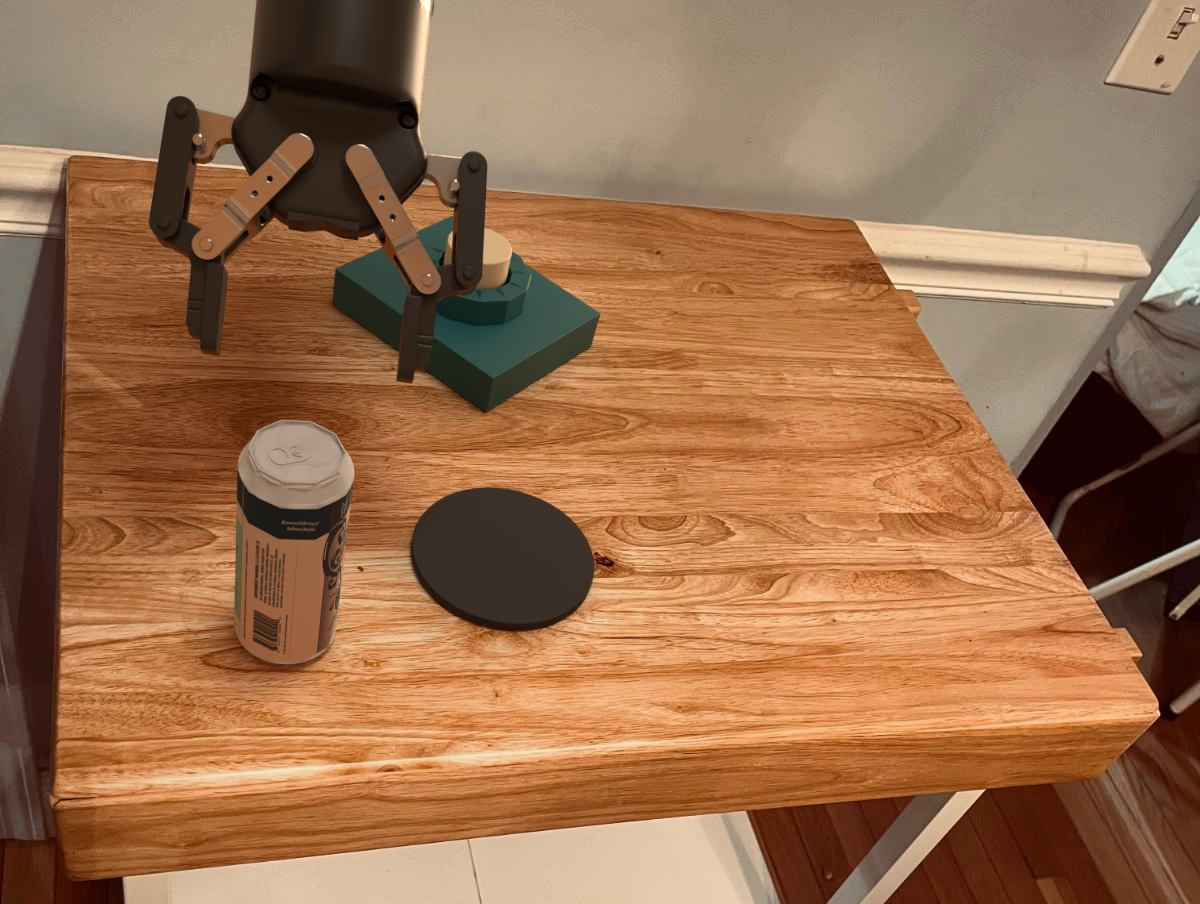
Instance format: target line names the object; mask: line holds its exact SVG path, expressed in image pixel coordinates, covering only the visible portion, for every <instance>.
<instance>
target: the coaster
mask: <svg viewBox="0 0 1200 904" xmlns="http://www.w3.org/2000/svg"><path fill="white" fill-rule="evenodd" d="M410 555H411V563H412V567H413V569H414V572H415V574H416V576H417V578H418V580H419V582H420V583H421V585H422V586H423V588H424V589H425V591H427V593H428V594H429V595H430V596H431V597H432V598H433V599H434V600H435V601H436V602H437V603H438V604H439V605H441V606H442V607H443V608H445V609H446V610H448V611H449V612H451V613H452V614H454V615H456V616H458V617H460V618H462V619H464V620H466V621H468V622H471V623H473V624H477V625H480V626H482V627H487V628H492V629H495V630H503V631H505V630H506V631H527V630H528V631H529V630H536V629H540V628H545V627H548V626H552V625H554V624H558V622H560V621H562V620H564V619H566V618H568V617H569V616H570V615H572V614H573V613H574V612H575V611H576V610H577V609H579V608H580V607H581V606H582V604H583V602H584V601H585V600H586V599H587V596H588V594H589V592H590V590H591V587H592V585H593V581H594V577H595V566H596V565H595V558H594V553H593V550H592V547H591V545H590V543H589V541H588V539H587V537H586V536H585V534H584V532H583V530H581V528H580V527H579V526H578V525H577V523H575V521H574V520H572V518H571V517H570V516H569V515H567V513H565V512H563V511H562V510H561V509H559V508H557V507H556V506H555V505H553V504H552V503H549V502H548V501H546V500H544V499H542V498H541V497H540V498H539V497H537V496H535V495H532V494H530V493H527V492H523V491H521V490H520V491H519V490H515V489H512V488H511V489H510V488H503V487H492V486H490V487H488V486H484V487H474V488H473V487H472V488H467V489H463V490H459V491H456V492H452V493H450V494H447V495H446V496H443V497H442V498H439V499H438V500H436V501H435V502H434V503H432V504H431V505H430V506H429V507H428V508H427V509H426V510H425V511H424V512H423V513H422V514H421V516H420V517H419V519H418V520H417V522H416V524H415V527H414V529H413V533H412V538H411V545H410Z"/></svg>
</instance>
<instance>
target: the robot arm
mask: <svg viewBox="0 0 1200 904" xmlns="http://www.w3.org/2000/svg"><path fill="white" fill-rule="evenodd" d="M434 10H435V0H256V2H255V12H254V23H253V32H252V42H251V53H250V54H251V55H250V62H249V74H248V85H247V93H246V98H245V101H244V104H243V106H242V108H241V109H240V111H239V112H237V115H236V116H235V117H233V116H229V115H225V114H220V113H218V112H217V113H216V112H213V111H208V110H204V109H200V108H197V107H196V105H195V102H193V100H191V99H190V98H189V97H186V96H185V95H184V96H183V95H177V96H173V97H172V98H170V99H169V101H168V102H167V104H166V109H165V116H164V122H163V128H162V135H161V140H160V146H159V154H158V160H157V167H156V171H155V179H154V185H153V191H152V198H151V204H150V211H149V215H148V216H149V217H148V226H149V228H150V230H151V232H152V233H153V235H154V236H155V238H156V239H157V241H158V242H159V244H160V245H161V246H163V247H164V248H166V249H170V250H173V251H175V252H176V253H179V254H180V255H182V256H184V257H185V258H187V259H188V260H189V262H190V272H189V273H190V274H189V282H188V283H189V285H188V292H187V293H188V294H187V295H188V296H187V305H186V315H185V324H186V328H187V331H188V334H189V336H190V337H191V338H192V339H193V340H198V341H199V350H200V351H201V353H202V354H203V355H209V356H216V357H218V356H219V357H220V356H221V353H222V344H223V333H224V325H225V323H224V322H225V313H226V301H227V292H228V283H229V282H228V281H229V272H228V271H227V269H226V266H225V264H226V263H228V262H229V260H230V259H231V258H232V257H234V256H235V254H236V253H237V252H239V250H241V249H242V247H244V246H245V244H247V243H248V242H249V241H251V240H252V239H254V238H255V237H257V236H258V235H259V234H260V232H261V231H263V230H264V229H265V228H266V226H268V225H269V224H270V223H271V221H273V220H274V219H276V220H277V221H278V222H279V223H281V224H282V225H285V226H286V227H287V229H288V230H290V231H296V232H302V233H313V232H325V233H326V232H327V233H329V234H330V235H333V236H335V237H338V238H340V239H344V240H349V241H356V242H359V239H362V238H366V237H369V236H371V235H373V234H374V236H375V238H376V239H377V242H378V243H379V245H380V246H381V248H383V250H384V251H385V253H386V255H387V256H388V258H389V260H390V261H391V262H392V263H393V264H394V266H395V267H396V269H397V271H398V272H399V274H400V276H401V277H402V279H403V281H404V283H405V284H406V286H407V288H408V289H409V291H410V293H409V295H407V296H406V299H405V302H404V309H403V319H402V328H401V338H400V348H399V351H398V359H397V367H396V378H395V379H396V380H395V381H396V382H397V383H405V384H412V383H413V382H414V378H415V373H417V372H418V373H424V372H425V371H426V370H425V369H426V367H427V365H428V364H429V362H430V360H431V356H432V345H433V336H434V327H435V318H436V308H437V303H438V302H439V301H440V300H442V299H444V298H447V297H452V296H457V295H462V296H466V295H469V294H471V293H472V292H473V291H474V290H475V288H476V286H477V285H478V283H479V282H480V280H481V278H482V271H483V250H484V229H485V228H486V227H485V226H486V208H487V207H486V205H487V184H488V161H487V158H486V157H485V156H484V155H483V154H482V153H481V152H479V151H475V150H472V151H471V150H470V151H468V152H465V154H464V155H462V156H461V157H460V156H454V155H446V154H438V153H428V152H427V150H426V148H425V146H424V143H423V140H422V137H421V124H422V113H423V104H424V103H423V102H424V95H425V85H426V84H425V83H426V75H427V74H426V73H427V64H428V56H429V55H428V54H429V45H430V33H431V27H432V18H433V15H434ZM226 145H232V146H233V148H234V151H235V153H236V155H237V157H238V158H239V160H240V162H241V163H242V165H243V167H244V169H245V170H246V172H247V174H248V176H249V177H248V178H247V180H245V181H244V182H243V183H242V184H241V185H240V186H239V187H238V188H237V189H236V190H235V191H234V192H233V193H232V194H231V195H230V196H229V197H228V198H227V200H225V202H224V205H223V206H222V208H221V209H220V210H219V211H217V213H216V214H215V215H214V216H213V217H212V218H211V219H210V220H208V222H207V223H206V224H205V225H203V227H199V226H197V225H195V224H193V223H191V222H189V218H190V211H191V206H192V205H191V204H192V198H193V193H194V185H195V180H196V173H197V167H198V165H207V164H210V163H211V162H212V161H213V160H214V159H215V158H216V154H217V152H218V150H220V148H221V147H223V146H226ZM424 180H428V181H430V182H431V183H433V185H434V186H435V187H436V189H437V195H438V199H439V201H440V202H441V204H442V205H443V206H445V207H447V208H451V209H453V215H452V216H453V237H452V259H451V264H449V265H444V266H439V267H435V266H434V264H433V262H432V261H431V259H430V257H429V255H428V254H427V252H426V250H425V249H424V247H423V245H422V243H421V241H420V239H419V236H418V234H417V231H418V230H416V228H415V226H414V223H413V222H412V220H411V219H410V217H409V216H408V214H407V211H406V210H405V208H404V207H403V204H404V203H405V202H406V201H407V200H408V199H409V198H410V197H411V196H412V194H414V193H415V191H416V190H417V189H418V188H420V186H421V185H422V184H423V182H424Z"/></svg>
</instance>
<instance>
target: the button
mask: <svg viewBox="0 0 1200 904" xmlns="http://www.w3.org/2000/svg"><path fill="white" fill-rule="evenodd" d="M452 237H453V231H452V232H451V233H450V234H449V236H448V239H447V245H446V251H445V257H444V263H443V266H444V265H449V264H451V259H452ZM512 251H513V248H512V246H511V243H510V242H509V241H508V239H506V238H505V236H503V235H502V234H500V233H499V232H497V231H495V230H492V229H489V228H486V227H485V229H484V250H483V271H482V278H481V280H480V282H479V283H478V285H477V286H476V288H475V289H477V290H488V289H498V288H500V287H501V286H502V285H503V284H504V283H505V281H506V278H507V273H508V269H509V264H510V259H511V255H512Z"/></svg>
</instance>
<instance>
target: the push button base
mask: <svg viewBox="0 0 1200 904" xmlns="http://www.w3.org/2000/svg"><path fill="white" fill-rule="evenodd" d="M416 231H417V234H418V236H419V239H420V241H421V243H422V245H423V247H424V249H425V250H426V252H427V254H428V255H429V257H430V259H431V261H432V262H433V264H434V266H435V267H439V266H443V263H444V257H445V251H446V245H447V239H448V236H449V234H450V233H451V232H452V231H453V215H450V216H448V217H445V218H444V219H442V220H439V221H437V222H435V223H433V224H431V225H429V226H426V227H424V228H422V229H420V230H416ZM332 290H333V291H332V299H331V301H332V302H331V304H332V305H333V306H334V307H335V308H337V309H338V310H340V311H341V312H343V313H344V314H345V315H347V316H348V317H350V318H351V319H353V320H354V321H355V322H357V323H358V324H360V325H361V326H363V328H365V329H367V330H368V331H370V332H371V333H372V334H374V335H375V336H377V337H378V338H379V339H381V341H384V342H385V343H386V344H388V345H389V346H391V347H392V348H394V349H395V350H396V351H398V352H399V348H400V338H401V328H402V319H403V309H404V302H405V299H406V296H407V295H409V293H410V291H409V289H408V288H407V286H406V284H405V283H404V281H403V279H402V277H401V276H400V274H399V272H398V271H397V269H396V267H395V266H394V264H393V263H392V262H391V261H390V260H389V258H388V256H387V255H386V253H385V251H384V250H383V248H382V247H379V248H377V249H375V250H373V251H371V252H368V253H367V254H364V255H362V256H360V257H357V258H354V259H353V260H351V261H348V262H346V263H344V264H342V265H339V266H337V267H335V269H334V279H333V289H332ZM600 318H601V312H599V311H598V310H596V309H595V308H593V307H592V306H590V305H589V304H587V303H586V302H584V300H581V299H579V298H578V297H576V296H575V295H574V294H572V293H571V292H569V291H567V290H566V289H564V288H563V287H561V286H560V285H558V284H557V283H555V282H554V281H552V280H551V279H549V278H548V277H546V276H545V275H544V274H542V273H541V272H539V271H537V270H535V269H534V268H532V267H531V266H529V265H528V264H526V263H525V261H524V260H523V258H522V256H520V255H519V254H517V253H516V252H515V251H513V250H512V255H511V259H510V264H509V269H508V273H507V278H506V281H505V283H504V284H503V285H502V286H501V287H500V288H498V289H488V290H477V289H475V290H474V291H473V292H472V293H471V294H469V295H466V296H462V295H457V296H452V297H447V298H444V299H442V300H440V301H439V302H438V303H437V308H436V318H435V327H434V336H433V345H432V356H431V360H430V362H429V364H428V365H427V367H426V369H425V371H427V373H429V374H431V376H433V377H435V378H436V379H438V380H439V381H440V382H442V383H443V384H444V385H446V386H447V387H449V388H450V389H451V390H453V391H454V392H456V393H458V394H459V395H460V396H461V397H463V398H465V400H467V401H468V402H470V403H471V404H473V405H474V406H476V407H477V408H478V409H480V410H481V411H483V412H484V413H487V412H489V411H490V410H492V409H494V408H495V407H497V406H499V405H501V404H502V403H504V402H505V401H507V400H508V399H509V398H512V397H513V396H514V395H516V394H518V393H519V392H521V391H522V390H525V389H526V388H528V387H529V386H530V385H532V384H533V383H535V382H537V381H538V380H540V379H542V378H543V377H545V376H546V375H548V374H549V373H551V372H552V371H555V370H556V369H558V368H559V367H560V366H563V365H564V364H566V363H567V362H568V361H570V360H572V359H574V358H575V357H576V356H578V355H579V354H581V353H583V352H585V351H586V350H588V349H589V348H591V347H592V345H593V342H594V338H595V335H596V331H597V328H598V324H599V322H600Z"/></svg>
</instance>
